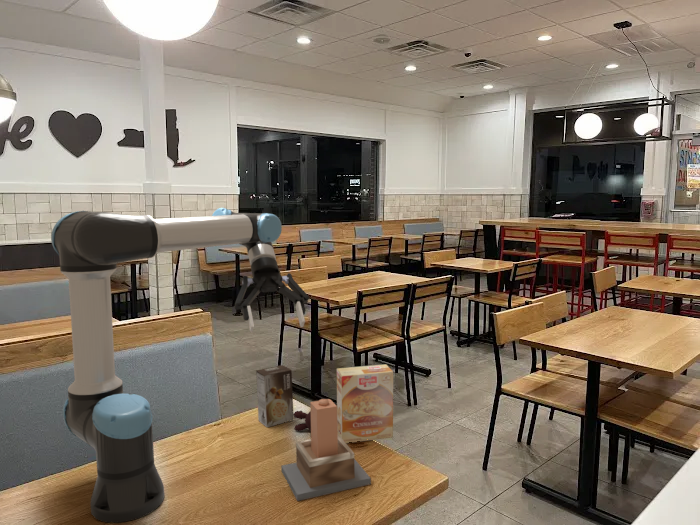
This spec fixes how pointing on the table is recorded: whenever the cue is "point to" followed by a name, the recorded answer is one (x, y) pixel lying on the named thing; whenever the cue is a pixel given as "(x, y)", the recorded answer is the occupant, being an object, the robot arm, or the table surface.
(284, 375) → the coffee box
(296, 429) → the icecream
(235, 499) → the table surface
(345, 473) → the brown square box
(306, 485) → the base board
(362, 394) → the coffeecake box
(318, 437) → the block
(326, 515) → the table surface
